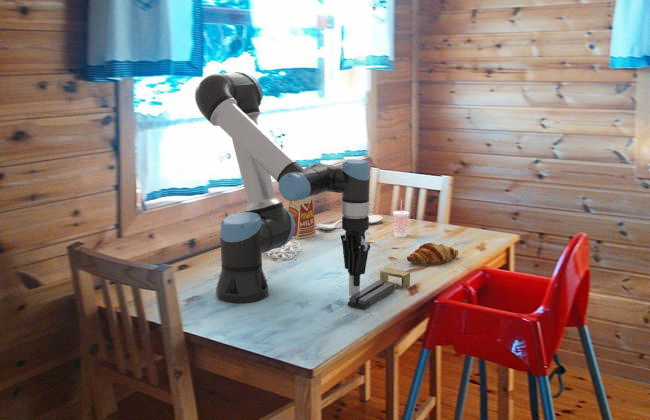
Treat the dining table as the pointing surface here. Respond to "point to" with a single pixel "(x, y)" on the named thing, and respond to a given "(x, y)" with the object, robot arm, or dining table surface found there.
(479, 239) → the dining table surface
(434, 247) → the croissant
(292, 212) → the milk carton
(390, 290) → the tongs fixed arm
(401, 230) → the beverage cup
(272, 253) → the tangled rod sculpture
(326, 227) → the white long curved piece
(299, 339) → the dining table surface
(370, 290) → the tongs arm
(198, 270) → the dining table surface
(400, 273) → the tan block
